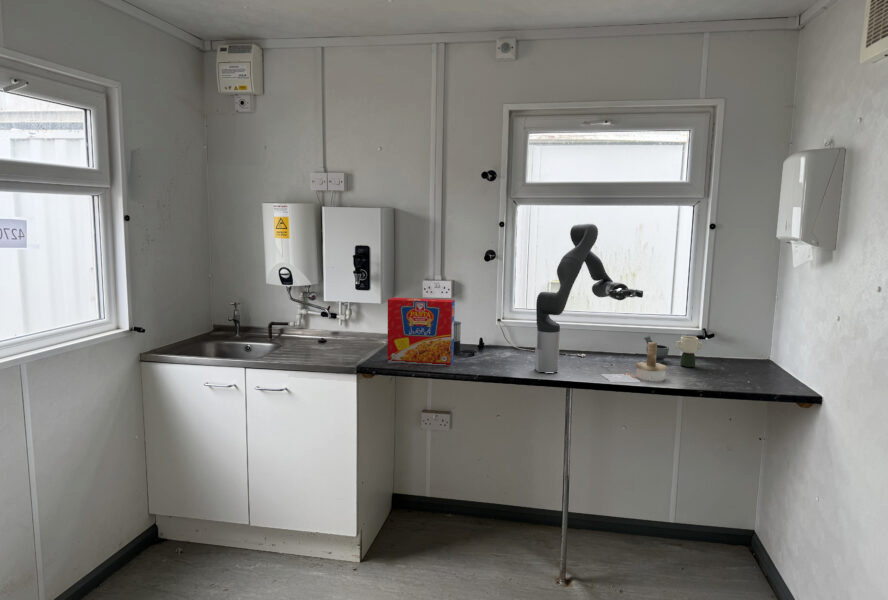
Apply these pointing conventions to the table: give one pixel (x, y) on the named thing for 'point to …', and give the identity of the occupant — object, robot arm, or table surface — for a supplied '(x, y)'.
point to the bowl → (650, 375)
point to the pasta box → (421, 330)
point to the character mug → (688, 350)
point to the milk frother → (457, 340)
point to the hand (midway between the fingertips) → (631, 295)
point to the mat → (630, 375)
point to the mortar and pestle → (658, 350)
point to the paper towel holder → (651, 360)
